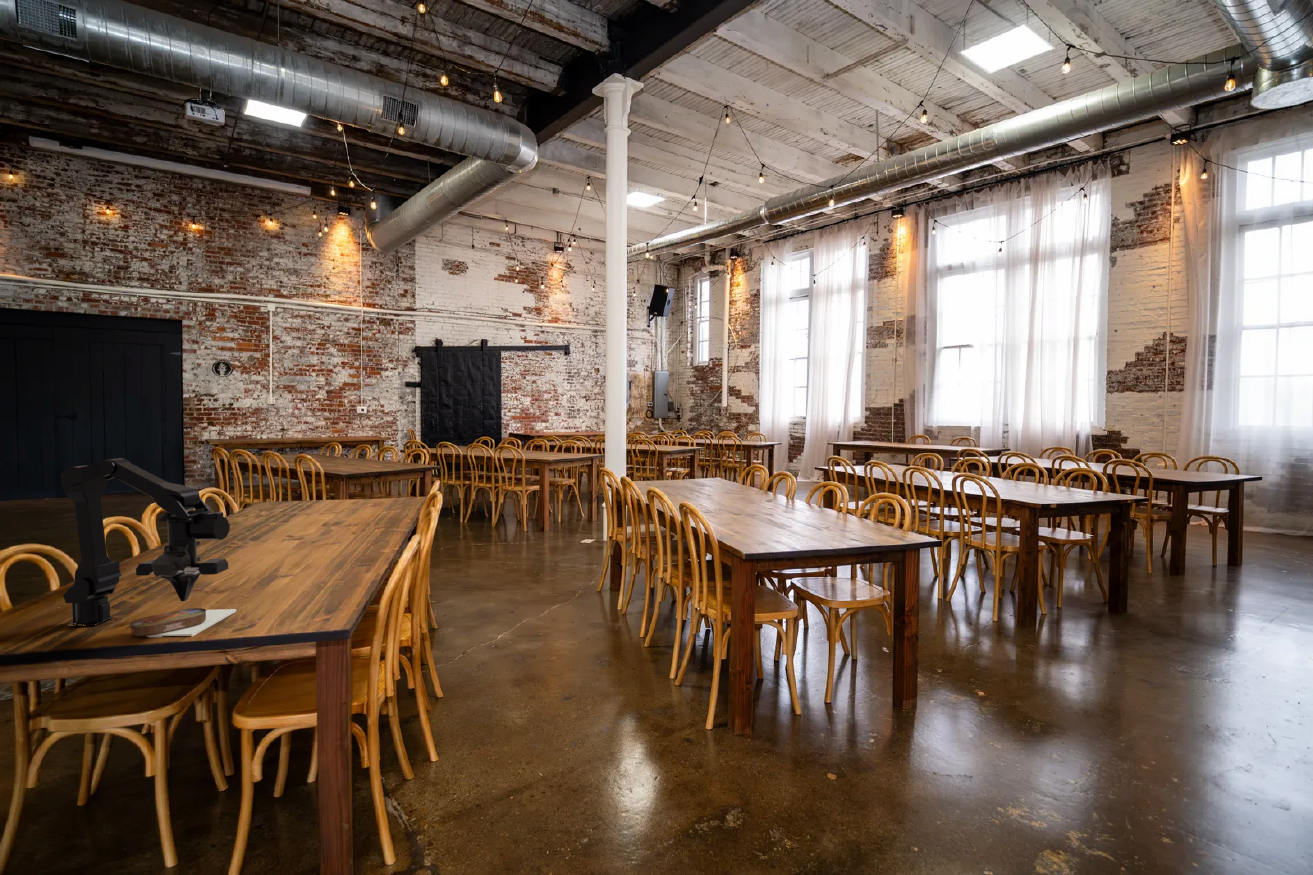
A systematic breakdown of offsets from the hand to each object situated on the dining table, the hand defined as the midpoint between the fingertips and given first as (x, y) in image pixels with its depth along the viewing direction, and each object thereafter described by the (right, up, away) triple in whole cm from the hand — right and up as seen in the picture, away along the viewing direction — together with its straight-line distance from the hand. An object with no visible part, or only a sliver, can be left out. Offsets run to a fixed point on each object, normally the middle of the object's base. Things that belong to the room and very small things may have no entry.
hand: (183, 600), depth 162 cm
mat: (+2, -6, +1) cm, 6 cm away
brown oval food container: (-4, -4, -1) cm, 6 cm away
